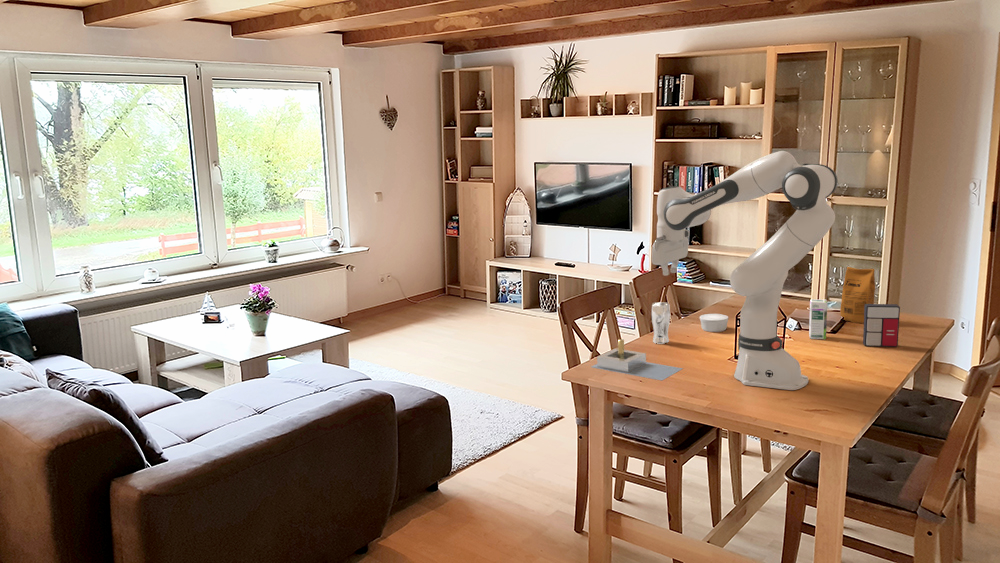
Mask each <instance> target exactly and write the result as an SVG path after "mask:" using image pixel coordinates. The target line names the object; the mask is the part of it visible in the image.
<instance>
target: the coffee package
mask: <svg viewBox="0 0 1000 563" xmlns="http://www.w3.org/2000/svg"><path fill="white" fill-rule="evenodd" d="M875 281H876V280H875V268H861V269H860V268H855V267H853V266H852V267H851V266H847V267H846V271H845V275H844V281H843V286H842V293H841V303H840V307H839V308H840V311H839V312H840V316H842V317H844V320H845V321H844V322H851V323H855V324H864V306H865V304H875V296H876V295H875V294H876V293H875V291H876V283H875Z"/></svg>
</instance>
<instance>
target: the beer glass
mask: <svg viewBox="0 0 1000 563" xmlns="http://www.w3.org/2000/svg"><path fill="white" fill-rule="evenodd" d="M670 320H671V306H670V303H669V302H666V301H665V302H663V301H659V302H652V303H651V324H652V327H653V336H652V337H653V338H652V342H653V343H654V344H656V343H657V344H656V345H666V344H665V343H667V344H669V343H670V339H669V326H670ZM668 342H669V343H668Z"/></svg>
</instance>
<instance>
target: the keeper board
mask: <svg viewBox="0 0 1000 563" xmlns="http://www.w3.org/2000/svg"><path fill="white" fill-rule="evenodd" d="M590 368H593V369H599V370H603V371H609V372H614V373H619V374H625V375H630V376H635V377H641V378H647V379H651V380H655V381H664V380H666V379H668V378H669V377H671V376H673V375H674V374H676V373H678V372H680V371H681V370H683V369H684V368H682V367H676V366H671V365H665V364H660V363H656V362H655V363H654V362H648V361H646V364H644V365H642V366H640V367H638V368H636V369H634V370H632V371H631V372H629V373H627V372H622V371H617V370H611V369H606V368H601V367H597V363H596V364H594V365H591V366H590Z"/></svg>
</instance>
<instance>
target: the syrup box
mask: <svg viewBox="0 0 1000 563" xmlns="http://www.w3.org/2000/svg"><path fill="white" fill-rule="evenodd" d="M827 321H828V300H827V299H817V298H816V299H814V298H813V299H812V298H811V299H810V300H809V324H808V325H809V328H808V329H809V330H808V332H809V333H808V335H809V339H810V340H826V339H827V324H828V322H827Z"/></svg>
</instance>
